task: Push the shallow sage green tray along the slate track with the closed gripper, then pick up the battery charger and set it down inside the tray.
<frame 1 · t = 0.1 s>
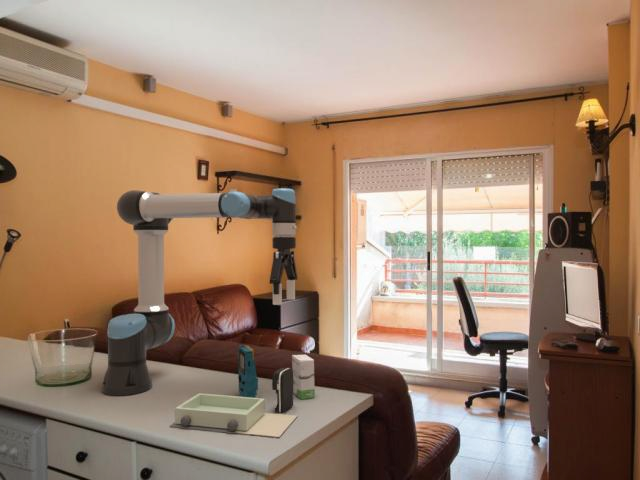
hand: (284, 302, 165), 28 cm above the kitchen counter, tool pointing down, fingers open, 13 cm apart
handheld gaming console: (247, 397, 156), on the kitchen counter
battery charger: (282, 409, 145), on the kitchen counter
ink box: (303, 395, 158), on the kitchen counter
track: (235, 421, 135), on the kitchen counter
shallow sage green tray: (221, 410, 136), point 3 cm above the kitchen counter, slide at 0.0 cm
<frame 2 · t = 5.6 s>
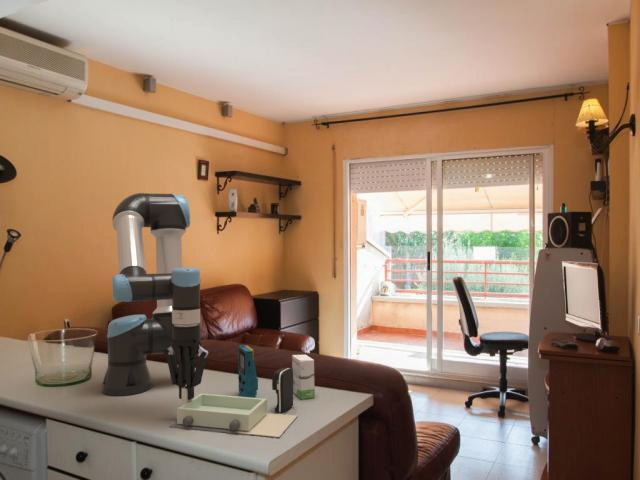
hand: (186, 410, 138), 2 cm above the kitchen counter, tool pointing down, fingers closed
shallow sage green tray: (223, 410, 136), point 3 cm above the kitchen counter, slide at 0.6 cm, touching gripper
everything else where it was.
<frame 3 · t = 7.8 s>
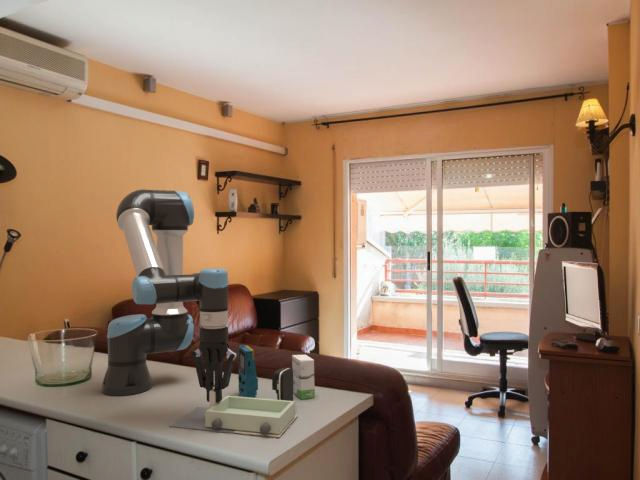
hand: (214, 413, 136), 2 cm above the kitchen counter, tool pointing down, fingers closed
shallow sage green tray: (251, 413, 134), point 3 cm above the kitchen counter, slide at 8.7 cm, touching gripper
everything else where it was.
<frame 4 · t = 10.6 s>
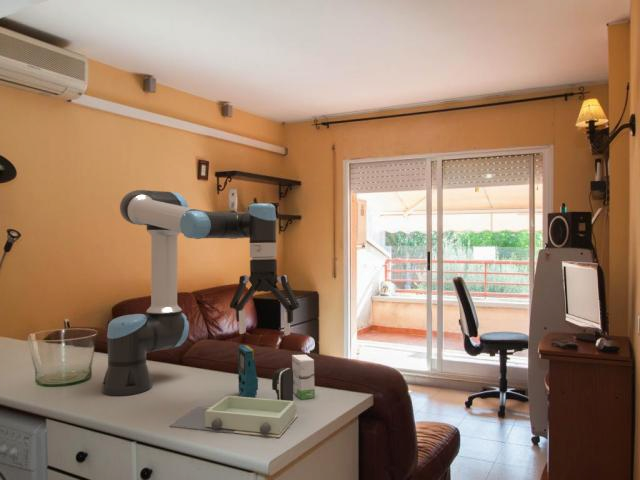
hand: (264, 334, 143), 22 cm above the kitchen counter, tool pointing down, fingers open, 13 cm apart
shallow sage green tray: (251, 413, 134), point 3 cm above the kitchen counter, slide at 8.7 cm
everything else where it was.
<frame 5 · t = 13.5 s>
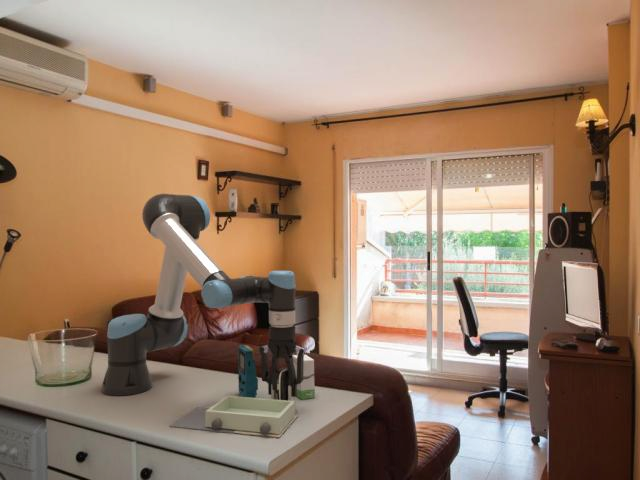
hand: (282, 406, 145), 1 cm above the kitchen counter, tool pointing down, fingers closed on battery charger, 4 cm apart
battery charger: (282, 409, 145), on the kitchen counter, touching gripper
everything else where it was.
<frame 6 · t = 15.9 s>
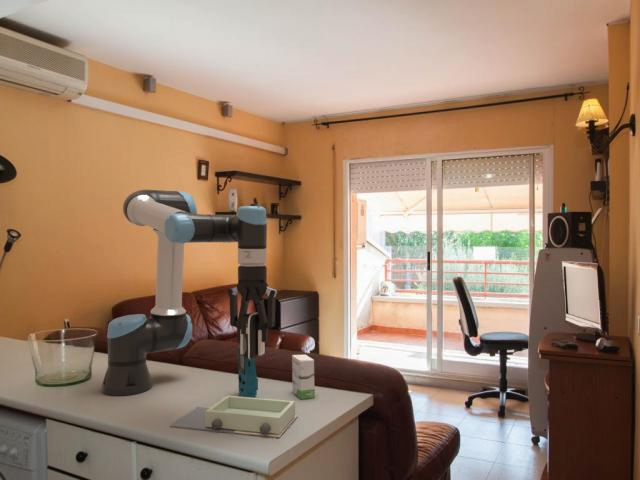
hand: (252, 353, 134), 18 cm above the kitchen counter, tool pointing down, fingers closed on battery charger, 4 cm apart
battery charger: (252, 356, 134), point 18 cm above the kitchen counter, touching gripper
everything else where it was.
when the fingers open (4 cm above the kitchen counter, at t = 18.7 s): battery charger drops 2 cm, resting on shallow sage green tray.
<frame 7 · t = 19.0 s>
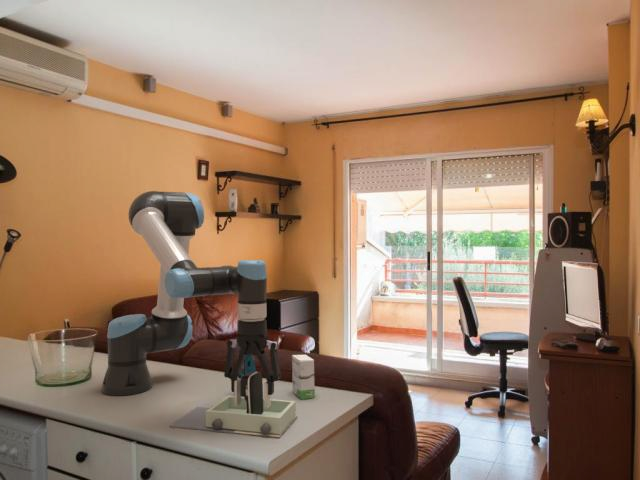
hand: (252, 405, 134), 5 cm above the kitchen counter, tool pointing down, fingers open, 8 cm apart
battery charger: (252, 417, 134), point 1 cm above the kitchen counter, touching shallow sage green tray
shallow sage green tray: (252, 413, 134), point 3 cm above the kitchen counter, slide at 8.9 cm, touching battery charger
everything else where it was.
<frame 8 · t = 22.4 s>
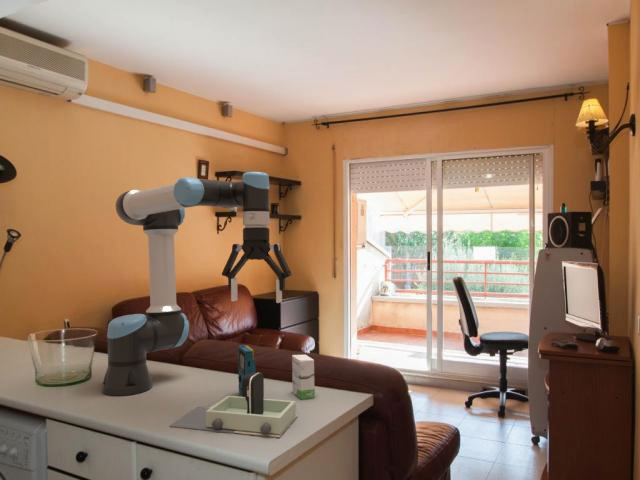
hand: (256, 301, 144), 31 cm above the kitchen counter, tool pointing down, fingers open, 13 cm apart
nothing on the kitchen counter moved.
at the end: shallow sage green tray slide at 8.9 cm; battery charger inside the target area on the shallow sage green tray (0.1 cm from its centre), point 1.4 cm above the shallow sage green tray's base; the gripper is holding nothing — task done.
